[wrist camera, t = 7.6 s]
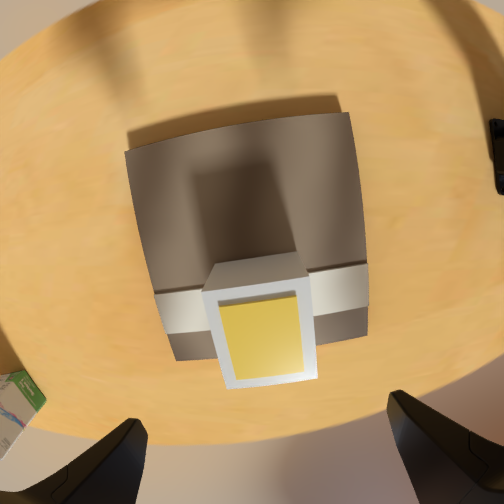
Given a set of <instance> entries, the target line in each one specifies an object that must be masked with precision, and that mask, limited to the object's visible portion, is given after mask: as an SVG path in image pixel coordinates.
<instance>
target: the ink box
mask: <svg viewBox="0 0 504 504" xmlns="http://www.w3.org/2000/svg"><path fill="white" fill-rule="evenodd" d="M45 403H46V398H45V397H44V396H43V394H42V393H41V392H40V391H39V389H38V388H37V386H36V385H35V384H34V382H33V381H32V380H31V378H30V377H29V375H28V374H27V372H26V371H25V370H23V371H19V372H14V373H10V374H5V375H1V376H0V460H3V459H4V457H5V456H6V454H7V453H8V451H9V450H10V449H11V447H12V446H13V444H14V443H15V442H16V440H17V439H18V438H19V436H20V435H21V433H22V432H23V431H24V429H25V428H26V427H27V426H28V424H29V423H30V422H31V420H32V419H33V418H34V416H35V415H36V414H37V413H38V411H39V410H40V409H41V407H42V406H43V405H44V404H45Z"/></svg>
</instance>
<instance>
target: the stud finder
mask: <svg viewBox="0 0 504 504" xmlns="http://www.w3.org/2000/svg"><path fill="white" fill-rule="evenodd" d="M201 294H202V298H203V302H204V306H205V311H206V315H207V318H208V322H209V326H210V330H211V334H212V338H213V342H214V345H215V349H216V353H217V356H218V360H219V363H220V367H221V371H222V374H223V378H224V381H225V384H226V388H227V389H237V388H248V387H258V386H267V385H275V384H283V383H290V382H297V381H303V380H309V379H315V378H318V377H317V360H316V344H315V331H314V318H313V307H312V296H311V285H310V276H309V274H308V272H307V270H306V268H305V266H304V264H303V262H302V260H301V258H300V256H299V254H298V252H297V251H295V252H289V253H282V254H276V255H269V256H263V257H256V258H249V259H243V260H236V261H229V262H222V263H216V264H215V265H214V267H213V269H212V271H211V273H210V275H209V277H208V279H207V281H206V283H205V285H204V287H203V289H202V291H201Z"/></svg>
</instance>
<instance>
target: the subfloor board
mask: <svg viewBox="0 0 504 504" xmlns="http://www.w3.org/2000/svg"><path fill="white" fill-rule="evenodd" d="M125 159H126V166H127V172H128V178H129V184H130V189H131V195H132V200H133V205H134V210H135V215H136V220H137V225H138V229H139V234H140V238H141V243H142V247H143V251H144V255H145V259H146V263H147V267H148V271H149V275H150V279H151V282H152V286H153V289H154V293H155V294H154V298H155V301H156V304H157V308H158V311H159V314H160V317H161V321H162V324H163V327H164V330H165V333H166V334H167V335H168V338H169V341H170V344H171V347H172V350H173V353H174V356H175V359H176V361H187V360H203V359H216V358H218V356H217V353H216V349H215V345H214V342H213V338H212V334H211V330H210V326H209V322H208V318H207V315H206V311H205V306H204V302H203V298H202V294H201V291H202V289H203V287H204V285H205V283H206V281H207V279H208V277H209V275H210V273H211V271H212V269H213V267H214V265H215V264H216V263H222V262H229V261H236V260H243V259H249V258H256V257H263V256H269V255H276V254H282V253H289V252H295V251H297V252H298V254H299V256H300V258H301V260H302V262H303V264H304V266H305V268H306V270H307V272H308V274H309V276H310V285H311V296H312V307H313V318H314V331H315V344H316V346H317V345H322V344H328V343H333V342H338V341H343V340H348V339H353V338H358V337H362V336H367V331H368V306H369V281H368V263H367V255H366V238H365V225H364V213H363V203H362V194H361V185H360V177H359V170H358V163H357V156H356V149H355V143H354V137H353V132H352V126H351V121H350V116H349V112H343V113H326V114H314V115H303V116H293V117H284V118H276V119H269V120H262V121H255V122H249V123H243V124H237V125H231V126H226V127H221V128H215V129H210V130H206V131H201V132H196V133H192V134H188V135H183V136H179V137H175V138H171V139H167V140H163V141H160V142H156V143H152V144H149V145H145V146H142V147H138V148H135V149H132V150H128V151H125Z"/></svg>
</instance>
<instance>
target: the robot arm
mask: <svg viewBox="0 0 504 504" xmlns="http://www.w3.org/2000/svg"><path fill="white" fill-rule="evenodd" d="M489 124H490V130H491V136H492V143H493V150H494V158H495V168H496V181H497V192H498V194H499V195H504V120H501V119H490V121H489ZM387 414H388V418H389V421H390V424H391V428H392V431H393V435H394V439H395V442H396V446H397V448H398V451H399V453H400V456H401V458H402V460H403V463H404V465H405V468H406V470H407V473H408V475H409V478H410V480H411V483H412V485H413V488H414V490H415V493H416V495H417V498H418V501H419V503H420V504H504V446H502V445H499V444H496V443H494V442H492V441H489V440H487V439H485V438H483V437H481V436H479V435H477V434H476V433H474V432H472V431H470V432H469V429H467V428H465V427H463V426H461V425H460V424H458V423H456V422H455V421H453V420H451V419H449V418H448V417H446V416H444V415H442V414H441V413H439V412H437V411H436V410H434V409H432V408H431V407H429V406H427V405H426V404H424V403H422V402H421V401H419V400H417V399H416V398H414V397H413V396H411V395H409V394H408V393H406V392H404V391H403V390H396V391H393V392H390V394H389V398H388V403H387ZM147 440H148V434H147V431H146V430H145V428H144V426H143V425H142V423H141V421H140V420H139V419H136V418H128V419H127V420H125V421H124V422H123V423H122V424H120V425H119V426H118V427H116V428H115V429H114V430H113V431H111V432H110V433H109V434H107V435H106V436H105V437H104V438H102V439H101V440H100V441H98V442H97V443H96V444H94V445H93V446H92V447H90V448H89V449H88V450H86V451H85V452H84V453H82V454H81V455H80V456H78V457H77V458H76V459H74V460H73V461H71V462H70V463H69V464H68V465H66V466H65V467H63V468H62V469H60V470H59V471H57V472H56V473H54V474H53V475H51V476H49V477H47V478H46V479H44V480H42V481H40V482H39V483H37V484H35V485H33V486H31V487H29V488H27V489H25V490H23V491H19V492H6V491H0V504H135V503H136V499H137V494H138V490H139V486H140V481H141V478H142V474H143V469H144V463H145V455H146V447H147Z"/></svg>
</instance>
